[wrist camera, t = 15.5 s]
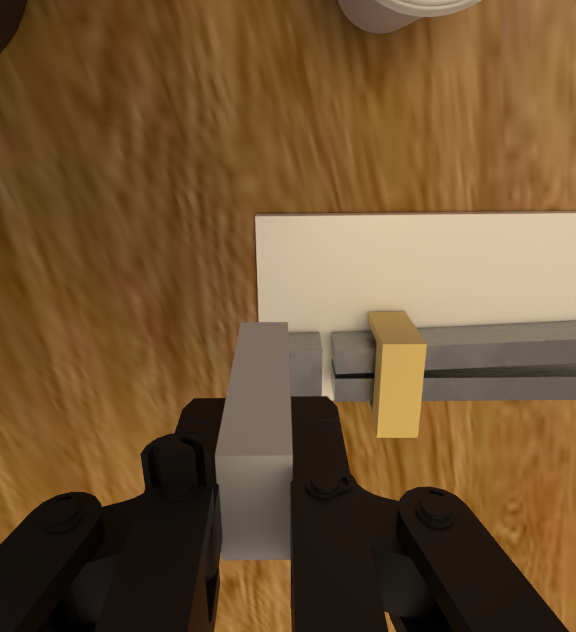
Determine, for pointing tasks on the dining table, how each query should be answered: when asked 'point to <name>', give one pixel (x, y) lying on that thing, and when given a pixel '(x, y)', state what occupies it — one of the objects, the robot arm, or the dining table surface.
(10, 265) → the dining table surface
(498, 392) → the tongs fixed
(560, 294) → the board
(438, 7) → the coffee cup
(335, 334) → the tongs jaw
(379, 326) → the tan boxy piece
